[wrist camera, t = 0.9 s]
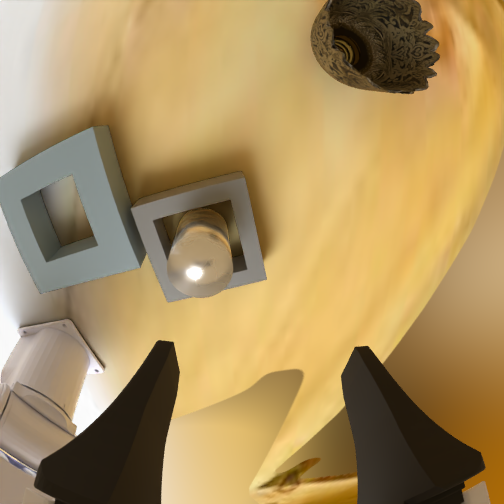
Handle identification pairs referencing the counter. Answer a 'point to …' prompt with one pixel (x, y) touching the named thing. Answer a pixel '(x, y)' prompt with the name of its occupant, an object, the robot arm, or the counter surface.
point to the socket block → (94, 203)
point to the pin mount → (191, 197)
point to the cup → (375, 44)
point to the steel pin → (200, 254)
